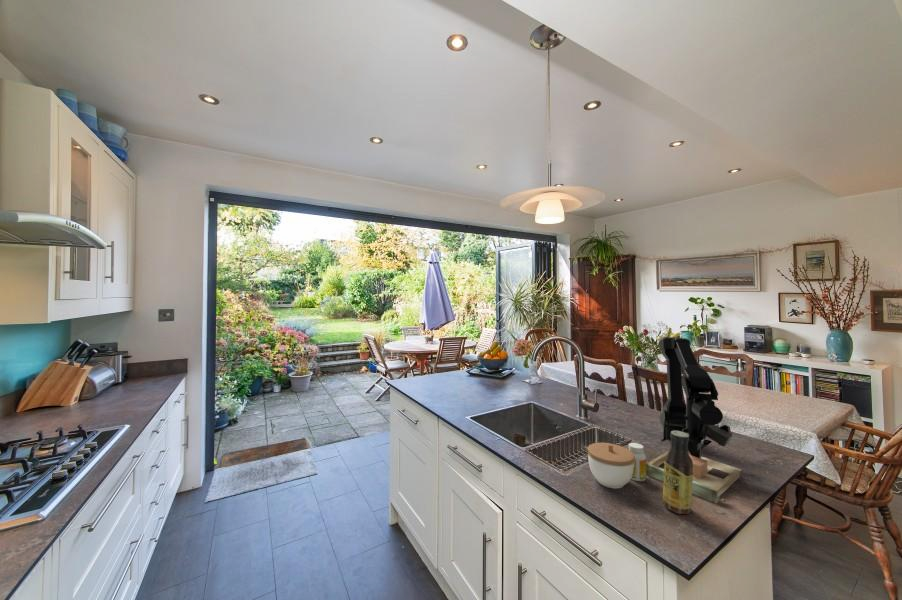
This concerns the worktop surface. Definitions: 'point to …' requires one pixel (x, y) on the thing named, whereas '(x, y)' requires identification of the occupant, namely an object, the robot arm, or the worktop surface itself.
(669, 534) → the worktop surface
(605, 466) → the lidded bowl
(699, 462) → the block
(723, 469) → the box
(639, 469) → the supplement bottle
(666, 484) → the sauce bottle
